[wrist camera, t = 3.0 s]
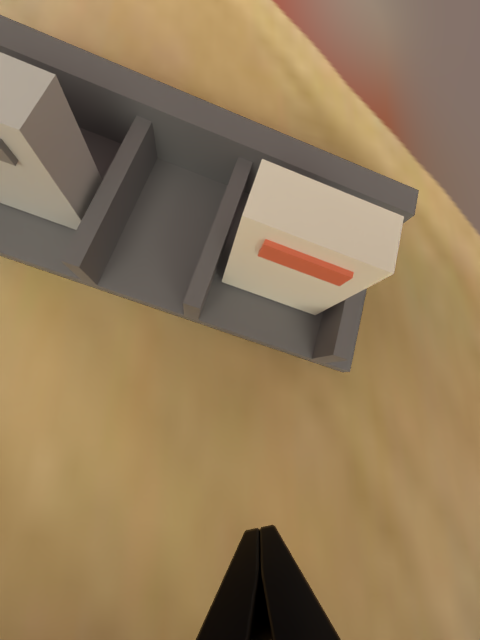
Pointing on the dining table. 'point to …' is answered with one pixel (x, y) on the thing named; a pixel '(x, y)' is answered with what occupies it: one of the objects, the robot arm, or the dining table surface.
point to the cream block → (310, 242)
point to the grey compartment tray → (179, 202)
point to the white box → (42, 147)
